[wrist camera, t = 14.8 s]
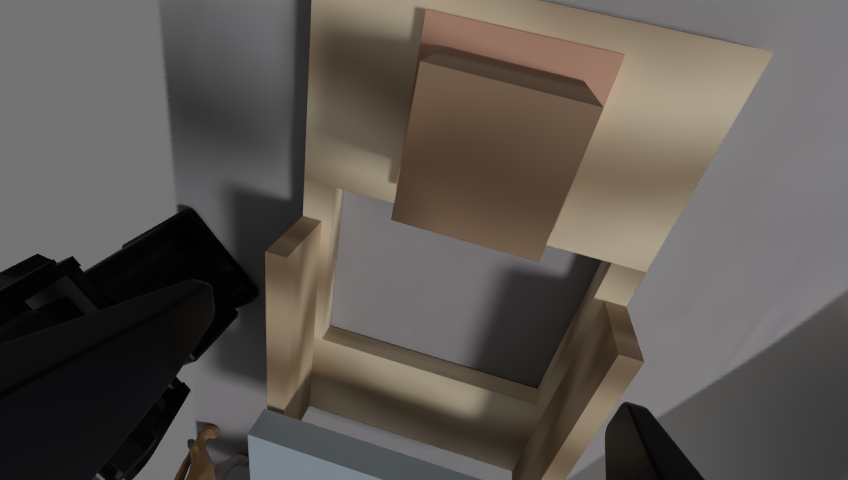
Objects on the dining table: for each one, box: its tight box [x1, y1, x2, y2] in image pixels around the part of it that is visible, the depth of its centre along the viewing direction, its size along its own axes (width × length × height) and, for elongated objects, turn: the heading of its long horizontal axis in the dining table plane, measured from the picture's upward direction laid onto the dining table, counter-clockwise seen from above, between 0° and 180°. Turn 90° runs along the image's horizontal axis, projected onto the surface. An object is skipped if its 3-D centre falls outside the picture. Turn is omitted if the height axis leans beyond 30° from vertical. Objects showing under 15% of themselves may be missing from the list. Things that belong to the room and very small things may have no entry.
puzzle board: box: [265, 0, 774, 480], centre depth 20 cm, size 26×16×5 cm, turn 169°
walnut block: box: [391, 47, 604, 262], centre depth 14 cm, size 5×5×4 cm
